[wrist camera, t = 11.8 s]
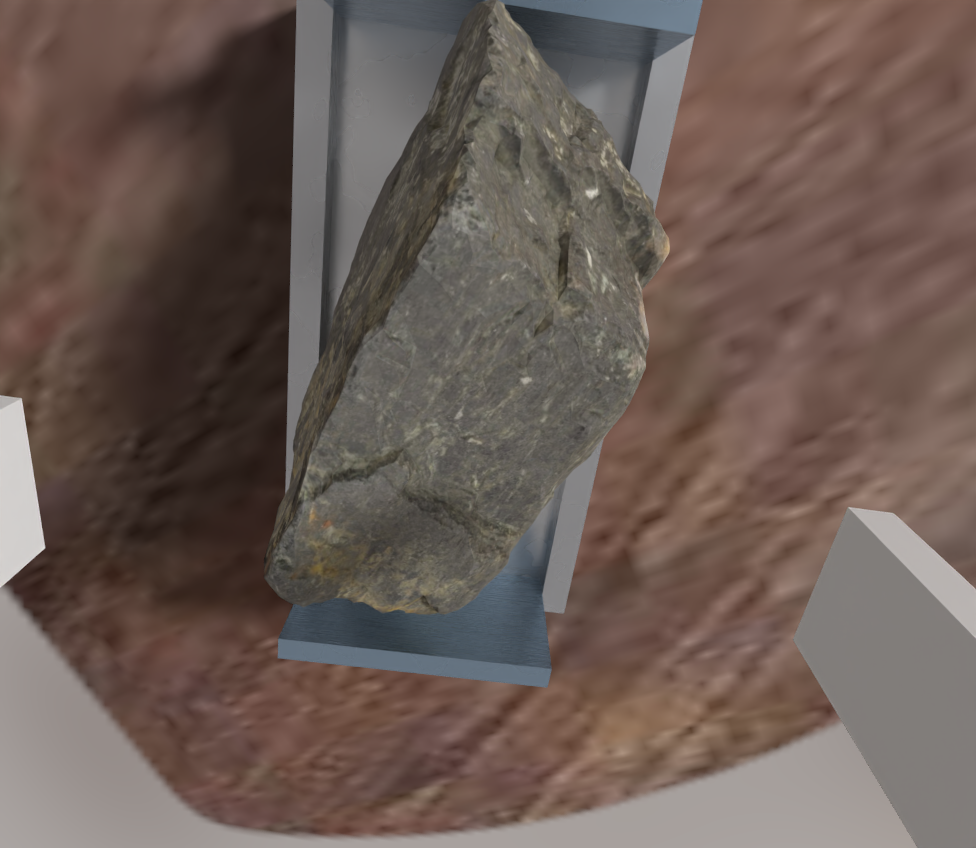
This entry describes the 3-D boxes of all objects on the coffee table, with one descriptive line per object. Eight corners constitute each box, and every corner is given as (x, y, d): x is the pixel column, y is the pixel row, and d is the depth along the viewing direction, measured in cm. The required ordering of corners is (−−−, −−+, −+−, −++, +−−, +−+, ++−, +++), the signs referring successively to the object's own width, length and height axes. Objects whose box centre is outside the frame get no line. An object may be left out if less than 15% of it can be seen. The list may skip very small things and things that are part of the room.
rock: (574, 641, 22) (263, 669, 19) (521, 499, 27) (270, 503, 24) (838, 97, 12) (256, -28, 9) (674, 32, 17) (270, -62, 14)
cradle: (323, -5, 20) (245, -84, 14) (667, 51, 21) (748, 1, 14) (303, 538, 28) (247, 654, 21) (556, 568, 28) (576, 690, 22)
